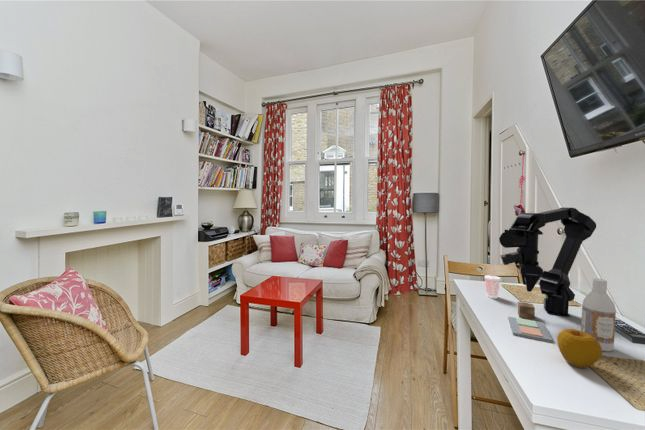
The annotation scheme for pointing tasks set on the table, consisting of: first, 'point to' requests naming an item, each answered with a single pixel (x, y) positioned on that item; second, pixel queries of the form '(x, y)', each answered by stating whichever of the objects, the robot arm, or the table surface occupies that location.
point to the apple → (579, 348)
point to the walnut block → (526, 310)
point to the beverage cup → (492, 285)
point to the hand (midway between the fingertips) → (526, 287)
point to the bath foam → (599, 315)
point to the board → (529, 329)
